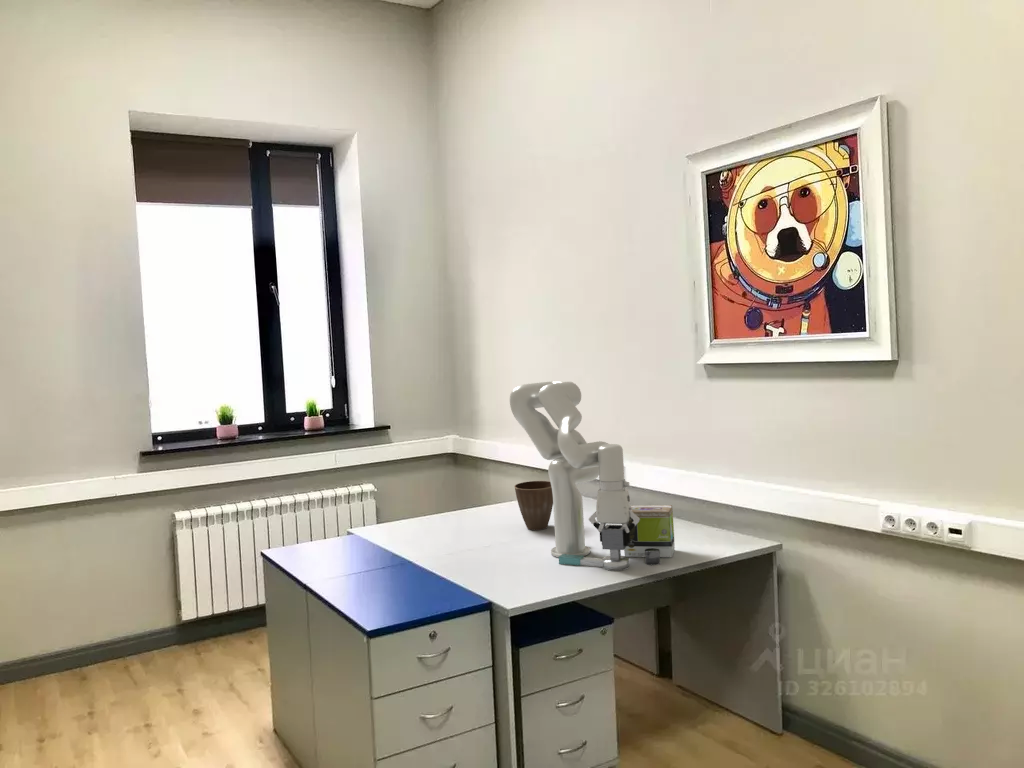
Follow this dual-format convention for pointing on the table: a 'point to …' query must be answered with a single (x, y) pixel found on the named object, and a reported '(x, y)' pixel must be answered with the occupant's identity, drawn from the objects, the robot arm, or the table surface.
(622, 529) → the socket
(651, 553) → the socket
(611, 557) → the ratchet
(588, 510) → the table surface
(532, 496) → the plant pot
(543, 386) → the robot arm
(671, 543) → the tea box
